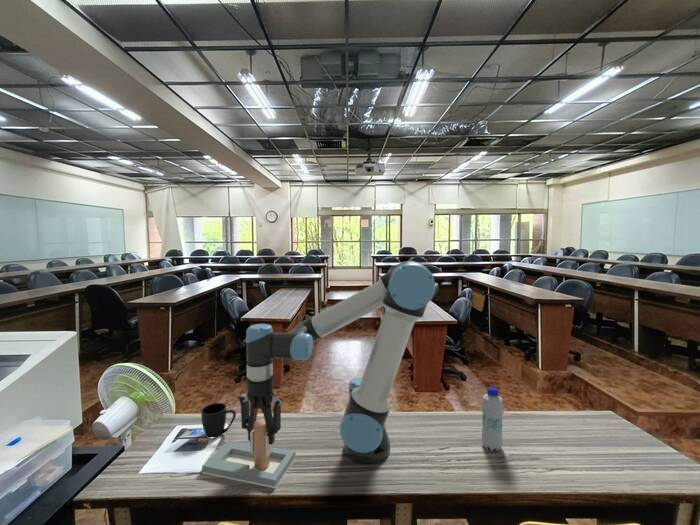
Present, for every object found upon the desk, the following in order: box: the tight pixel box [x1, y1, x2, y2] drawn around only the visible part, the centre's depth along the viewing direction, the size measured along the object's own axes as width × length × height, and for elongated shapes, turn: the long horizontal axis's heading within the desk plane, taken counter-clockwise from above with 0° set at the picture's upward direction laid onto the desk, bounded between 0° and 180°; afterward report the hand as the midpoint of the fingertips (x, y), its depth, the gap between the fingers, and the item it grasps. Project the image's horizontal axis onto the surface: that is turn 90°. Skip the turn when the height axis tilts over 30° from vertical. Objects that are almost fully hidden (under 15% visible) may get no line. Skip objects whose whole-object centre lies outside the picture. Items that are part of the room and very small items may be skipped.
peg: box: [254, 418, 269, 470], centre depth 97 cm, size 4×4×13 cm
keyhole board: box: [201, 440, 296, 489], centre depth 98 cm, size 24×13×2 cm, turn 75°
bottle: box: [481, 386, 505, 452], centre depth 106 cm, size 7×7×20 cm
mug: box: [200, 402, 237, 438], centre depth 115 cm, size 8×12×10 cm
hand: (261, 452), depth 97 cm, fingers closed on peg, 4 cm apart
